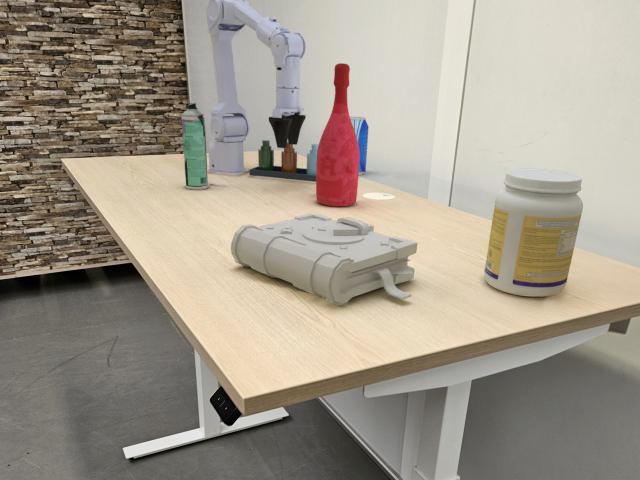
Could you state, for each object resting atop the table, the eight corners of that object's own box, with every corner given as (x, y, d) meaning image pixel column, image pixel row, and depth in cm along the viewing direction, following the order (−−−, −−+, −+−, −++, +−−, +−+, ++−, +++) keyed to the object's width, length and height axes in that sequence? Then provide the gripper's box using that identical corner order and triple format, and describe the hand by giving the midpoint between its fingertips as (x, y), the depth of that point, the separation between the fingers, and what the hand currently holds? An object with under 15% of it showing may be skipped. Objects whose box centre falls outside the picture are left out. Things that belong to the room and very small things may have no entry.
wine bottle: (307, 203, 134) (311, 62, 121) (327, 196, 142) (332, 62, 129) (345, 209, 130) (353, 64, 117) (363, 202, 138) (372, 64, 125)
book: (357, 323, 74) (361, 267, 71) (228, 267, 92) (226, 220, 88) (444, 288, 86) (450, 239, 83) (315, 245, 104) (316, 203, 101)
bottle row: (255, 173, 163) (255, 140, 159) (262, 171, 166) (262, 138, 163) (293, 177, 159) (293, 143, 156) (299, 174, 163) (299, 142, 159)
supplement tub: (576, 285, 90) (602, 175, 83) (545, 306, 81) (571, 186, 74) (503, 266, 97) (521, 164, 90) (468, 283, 89) (484, 172, 82)
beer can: (365, 178, 166) (369, 119, 159) (336, 176, 166) (339, 118, 159) (364, 173, 173) (368, 116, 167) (336, 171, 173) (339, 115, 167)
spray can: (210, 186, 148) (206, 103, 140) (204, 190, 143) (200, 104, 135) (189, 184, 148) (184, 102, 140) (183, 189, 143) (177, 103, 135)
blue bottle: (304, 178, 159) (304, 144, 155) (309, 176, 162) (310, 142, 159) (319, 180, 157) (320, 146, 154) (324, 177, 161) (325, 144, 157)
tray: (249, 177, 161) (249, 169, 160) (262, 171, 169) (262, 164, 168) (320, 184, 155) (321, 176, 154) (331, 178, 163) (331, 171, 162)
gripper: (292, 89, 132) (291, 150, 138) (313, 88, 145) (311, 143, 151) (264, 88, 134) (264, 148, 140) (287, 86, 147) (286, 141, 153)
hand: (287, 146), depth 145 cm, fingers open, 7 cm apart
